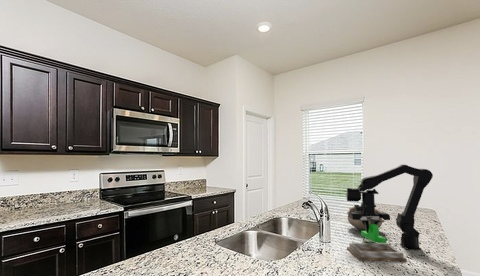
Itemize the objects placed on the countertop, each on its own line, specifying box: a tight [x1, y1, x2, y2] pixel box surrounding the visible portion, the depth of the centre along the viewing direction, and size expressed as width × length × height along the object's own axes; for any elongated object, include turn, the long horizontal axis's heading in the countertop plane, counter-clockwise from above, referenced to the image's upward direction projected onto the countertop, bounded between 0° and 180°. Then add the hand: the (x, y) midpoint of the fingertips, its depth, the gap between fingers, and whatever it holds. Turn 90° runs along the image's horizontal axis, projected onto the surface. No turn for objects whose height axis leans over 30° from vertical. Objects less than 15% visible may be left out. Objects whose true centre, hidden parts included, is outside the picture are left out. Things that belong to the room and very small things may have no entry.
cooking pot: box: [346, 206, 385, 232], centre depth 150 cm, size 25×19×12 cm
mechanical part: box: [360, 224, 387, 244], centre depth 127 cm, size 12×6×8 cm, turn 3°
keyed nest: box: [346, 242, 408, 262], centre depth 112 cm, size 20×13×3 cm, turn 88°
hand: (369, 233), depth 127 cm, fingers closed on mechanical part
